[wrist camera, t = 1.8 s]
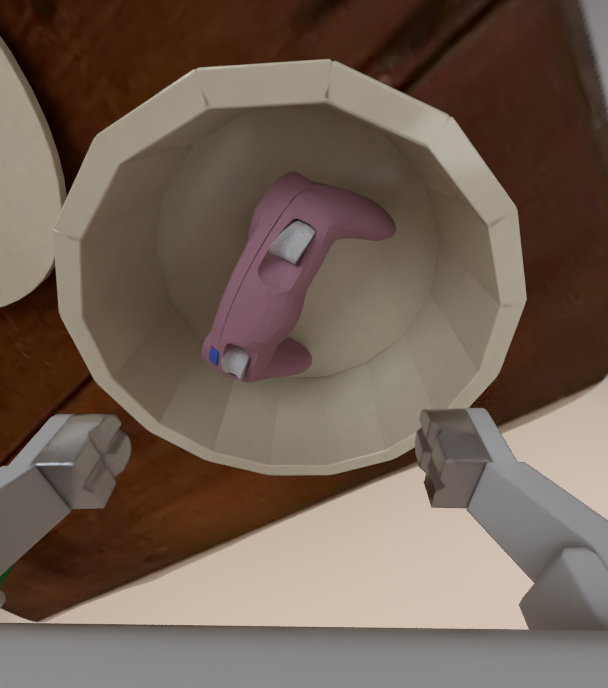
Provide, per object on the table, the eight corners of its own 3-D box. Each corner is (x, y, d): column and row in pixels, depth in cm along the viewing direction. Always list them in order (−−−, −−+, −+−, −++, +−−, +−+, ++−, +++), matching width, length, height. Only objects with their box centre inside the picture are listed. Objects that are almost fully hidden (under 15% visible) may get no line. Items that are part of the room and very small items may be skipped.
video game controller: (327, 165, 16) (239, 142, 10) (409, 216, 15) (366, 223, 9) (253, 325, 21) (167, 372, 15) (311, 369, 20) (244, 435, 14)
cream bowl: (488, 70, 13) (626, 39, 7) (423, 380, 22) (462, 475, 16) (93, 95, 14) (-67, 84, 8) (187, 384, 22) (145, 476, 17)
